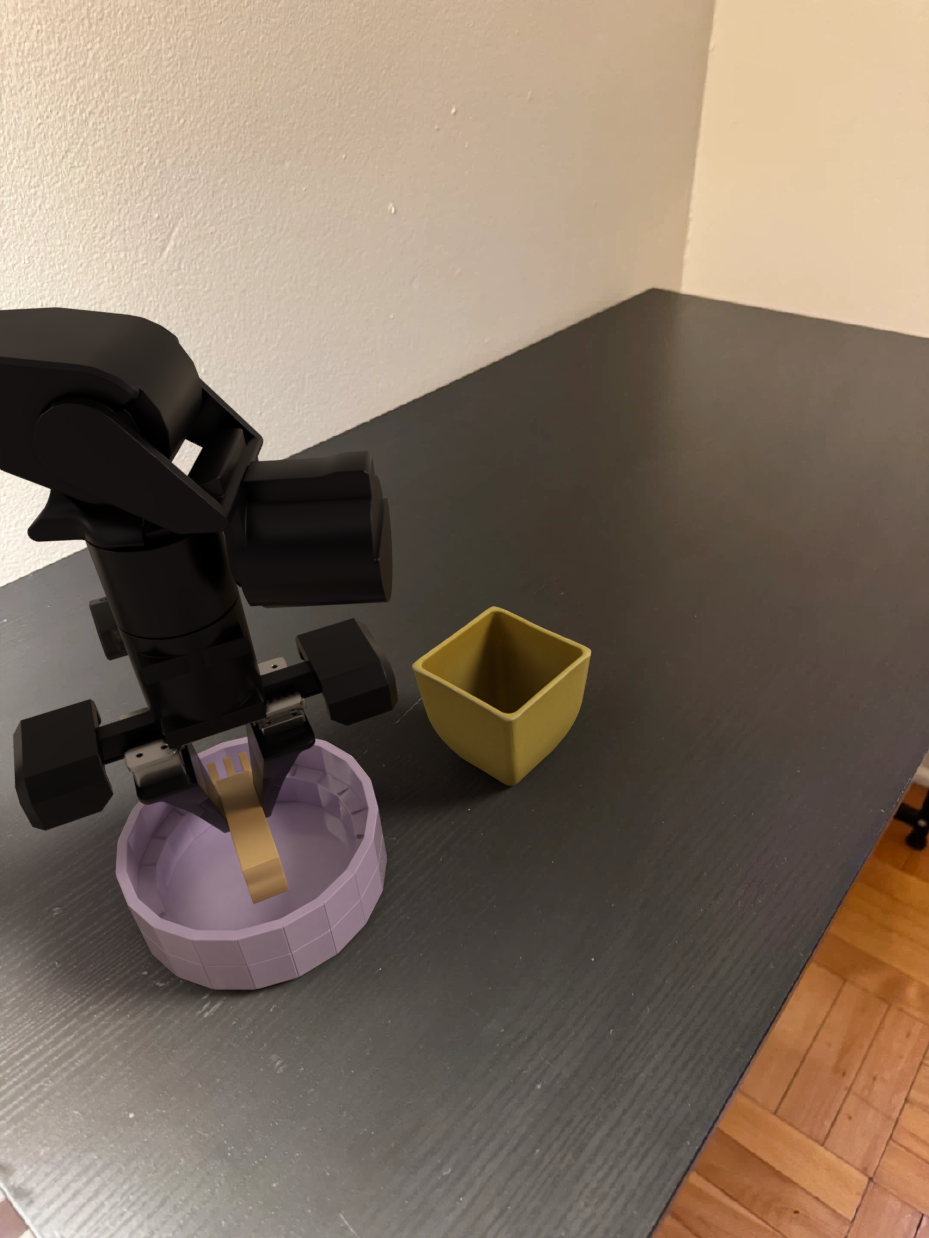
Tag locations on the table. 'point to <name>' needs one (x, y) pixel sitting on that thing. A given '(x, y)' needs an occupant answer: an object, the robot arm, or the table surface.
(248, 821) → the fork
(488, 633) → the flower pot
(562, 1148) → the table surface
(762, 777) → the table surface
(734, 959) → the table surface
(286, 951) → the bowl
